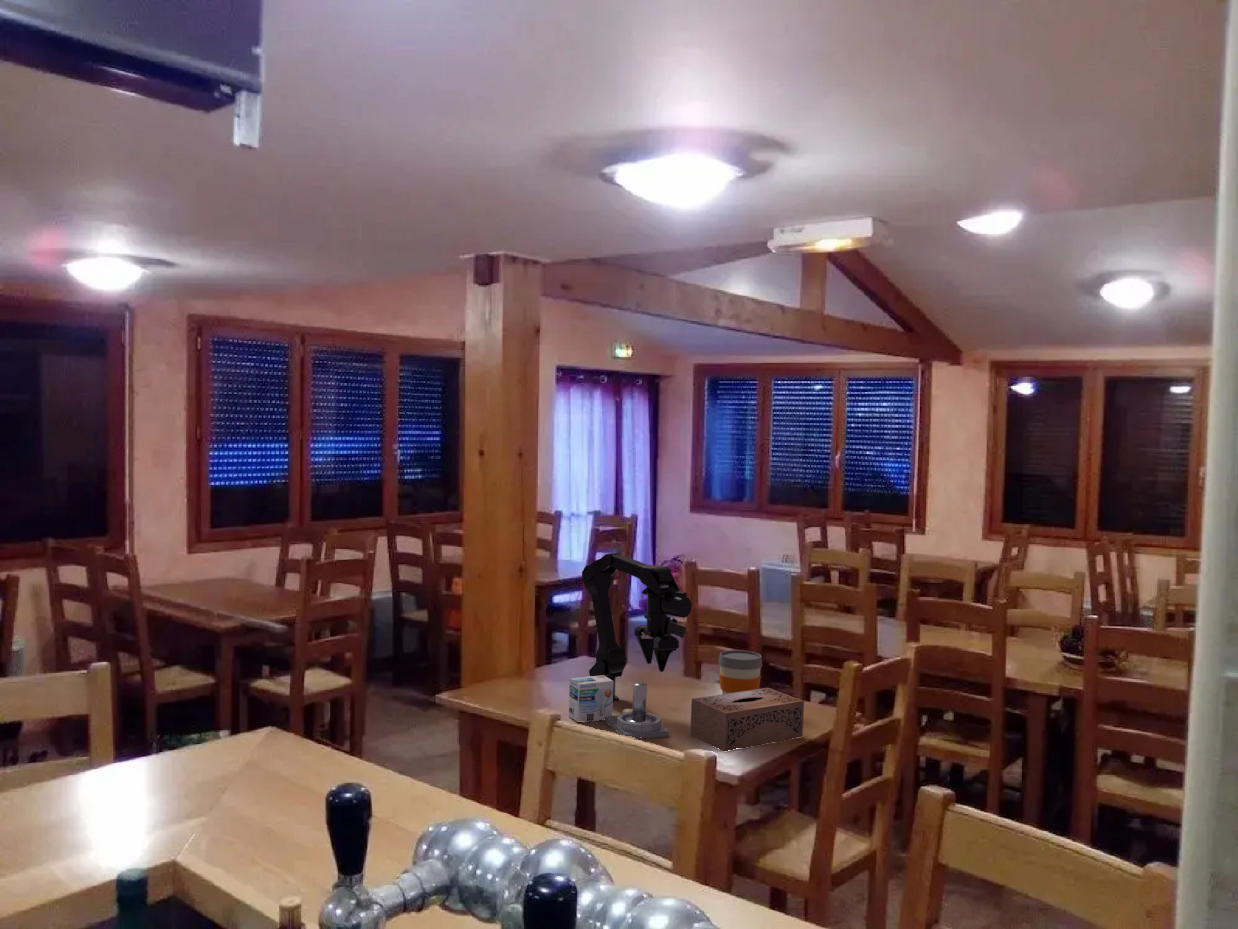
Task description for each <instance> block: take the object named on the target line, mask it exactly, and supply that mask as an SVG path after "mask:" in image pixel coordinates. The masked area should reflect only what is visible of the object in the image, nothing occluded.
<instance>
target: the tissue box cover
mask: <svg viewBox="0 0 1238 929" xmlns="http://www.w3.org/2000/svg"><path fill="white" fill-rule="evenodd" d="M804 704H805V700H802V699H799V698H796V697H794V696H791V695H789V694H786V693H783V692H781V691H778V690H775V689H773V688H770V687H763V688H759V689H755V690H748V691H742V692H735V693H728V694H722V693H720V694H716V695H709V696H708V695H707V696H702V697H694V698H691V706H690V707H691V709H690V710H691V711H690V734H689V735H690V736H689V737H692V738H694V739H697V740H699V741H701V742H702V743H704V744H706V745H709V746H711V747H713V746H714V747H713V748H715V747H716V748H715V749H717V748H719V749H720V750H719V749H718V750H719V751H721V750H722V752H723V751H727V752H729V751H728V750H733V749H736V748H744V749H747V748H746V747H749V748H752V747H751V746H755V747H758V746H757V745H760V746H763V745H762V744H766V743H771V744H773V743H772V742H777V743H781V742H780V741H782V742H785V741H784V740H787V741H790V740H789V739H792V738H796V737H801V736H803V734H804V730H803V729H804V711H805V709H804V708H805V706H804ZM766 745H767V744H766ZM733 751H734V750H733Z"/></svg>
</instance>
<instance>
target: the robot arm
mask: <svg viewBox="0 0 1238 929" xmlns="http://www.w3.org/2000/svg"><path fill="white" fill-rule="evenodd" d="M617 571H619V572H621V573H624V574H627V575H630V576H633V577H634V578H637V579H638V580H639V581H640V582H641V584H643V586H646V588H644V589H643V590H642V591H641V595H642V594H643V595H647V604H646V613H645V614H643V615H644V617H643V618H644V619H645V620H646V624H645V625H644V624H643V625H637V626H636V627H635V628H634V637H635V638H636V640H637V642H638V644H639V647H640V649H641V651H642V654H643V658H644V659H645V661H646V663H647V664H648V665H651V664H652V661H653V655H655V660H656V663H657V667H658V671H659V672H660V673H661V672H665V669H666V666H667V663H668V661H669V660H668V659H669V658H670V655H671V654H672V653H673V652H674V651H676V650H677V649H679V648H680V640H679V639H678V638H677V637H680V638H681V639H684V637H685V635H686V632H687V629H688V627H686V626H684V625H682V624H680V623H678V619H676V618H675V617H678V618H682V619H685V618H687V617H688V616H689V615H690V614H691V612H692V608H693V604H692V601H691V599H690V598H689V597H688V593H687V592H686V591H680V589H679V585H678V583H677V582H676V579H675V578H674V576H673V574H672V570H671V568H670V567H668V566H665V565H656V564H655V565H654V564H646V563H644V562H641V561H639V560H637V559H636V560H635V559H633V558H632V557H628V556H626V555H623V554H621V553H619V552H608V553H606V554H605V555H603V556H602V557H600V558H599V559H597V560H595V561H593V562H592V563H590V564H587V565H585V566H584V568H583V569H582V572H581V578H582V581H583V584H584V588H585V589H586V590H587V592H588V593H589V595H590V596H591V601H592V605H593V606H592V607H593V614H594V620H595V626H596V631H597V632H596V633H597V637H598V638H597V639H598V648H597V649H596V653H595V663H594V664H593V665H592V667H591V668H590V669H589V670H588V673H589V677H590V676H600V675H604V676H606V677H607V678H609V679H611V680H613V681H614V685H613V701H619V700H620V697H618V696H617V695H616V678H620V677H622V676H623V673H624V670H625V668H626V667H627V666H626V665H627V660H628V659H627V657H626V656H627V655H626V648H625V647H624V646H621V645H619V643H618V642H617V640H616V639H617V638H616V634H615V628H614V621H613V614H612V609H611V602H610V597H609V596H610V595H609V592H610V590H611V589H610V588H611V586H612V576H613V575H614V574H615V573H616V572H617ZM671 616H673V617H671ZM673 635H675V636H677V637H675V636H673Z"/></svg>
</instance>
